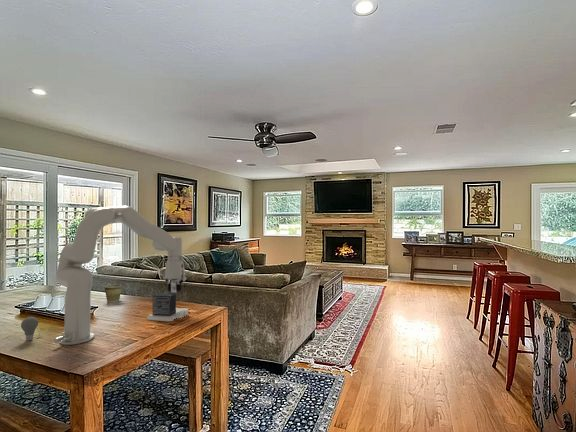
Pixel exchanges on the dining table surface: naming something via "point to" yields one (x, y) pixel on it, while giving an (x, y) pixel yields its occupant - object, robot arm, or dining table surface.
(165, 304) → the small box
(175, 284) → the round metal knob
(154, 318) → the scale
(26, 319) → the light bulb
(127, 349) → the dining table surface
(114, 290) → the olive flower pot
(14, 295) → the dining table surface
